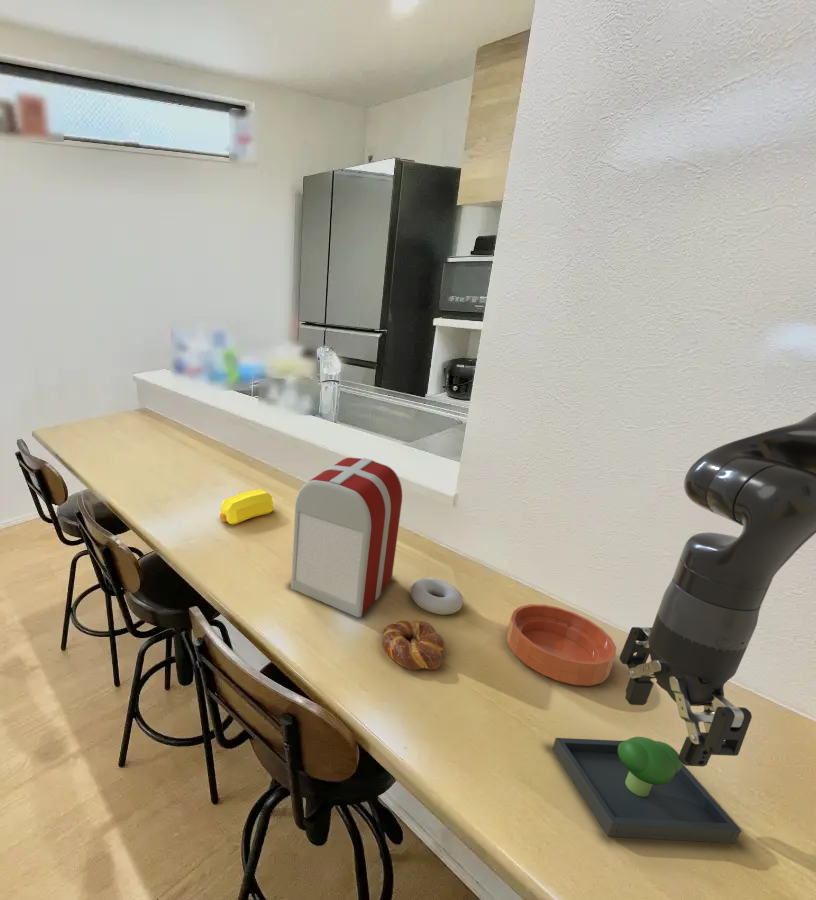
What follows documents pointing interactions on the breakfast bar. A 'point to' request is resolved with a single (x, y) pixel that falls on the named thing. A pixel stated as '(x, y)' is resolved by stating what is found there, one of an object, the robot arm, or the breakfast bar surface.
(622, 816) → the tray
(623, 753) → the broccoli
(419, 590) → the donut
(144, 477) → the breakfast bar surface
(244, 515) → the yellow faceted capsule
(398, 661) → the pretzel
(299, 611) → the breakfast bar surface
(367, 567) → the red grey arched block
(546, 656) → the bowl
